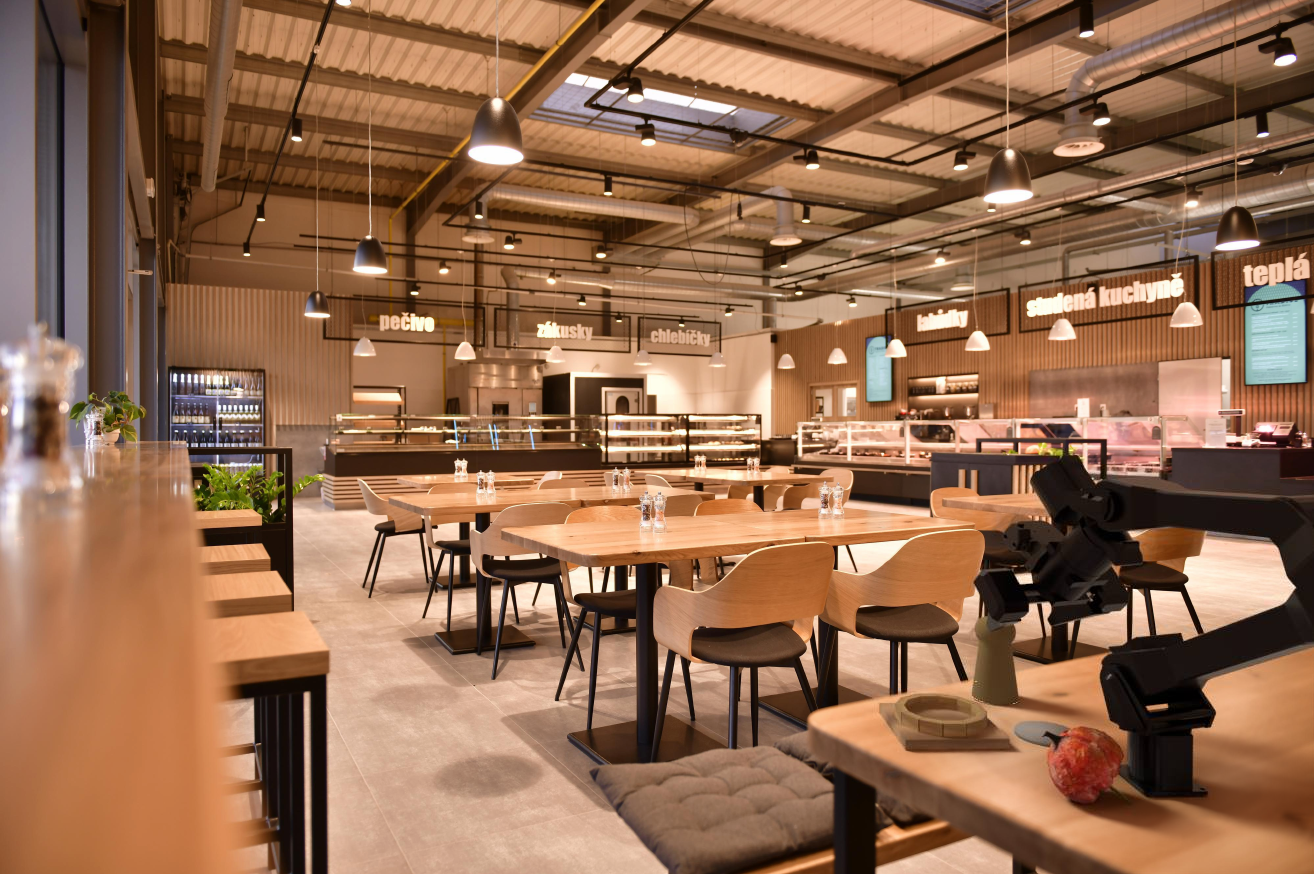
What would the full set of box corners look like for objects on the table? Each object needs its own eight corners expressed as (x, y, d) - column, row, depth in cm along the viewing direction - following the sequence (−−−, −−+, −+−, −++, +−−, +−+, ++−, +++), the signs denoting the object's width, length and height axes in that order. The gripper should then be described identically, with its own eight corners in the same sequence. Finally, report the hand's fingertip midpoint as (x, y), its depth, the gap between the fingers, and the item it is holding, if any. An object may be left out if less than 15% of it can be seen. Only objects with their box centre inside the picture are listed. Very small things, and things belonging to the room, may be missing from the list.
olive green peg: (1010, 690, 117) (1011, 612, 116) (1025, 706, 111) (1025, 623, 110) (966, 689, 117) (966, 611, 117) (978, 705, 111) (978, 623, 111)
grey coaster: (1089, 746, 97) (1089, 743, 97) (1029, 746, 98) (1029, 743, 98) (1061, 723, 104) (1061, 720, 104) (1004, 724, 105) (1004, 720, 104)
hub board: (1009, 748, 97) (1009, 725, 97) (905, 749, 97) (905, 726, 97) (971, 711, 109) (971, 690, 109) (879, 712, 109) (879, 691, 109)
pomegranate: (1110, 805, 88) (1028, 735, 91) (1160, 763, 85) (1073, 692, 88) (1103, 844, 82) (1015, 768, 85) (1157, 800, 78) (1064, 722, 82)
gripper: (1112, 498, 105) (1050, 569, 116) (983, 505, 101) (931, 577, 112) (1164, 573, 98) (1092, 640, 109) (1027, 583, 93) (966, 652, 104)
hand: (1019, 625), depth 109 cm, fingers open, 9 cm apart
